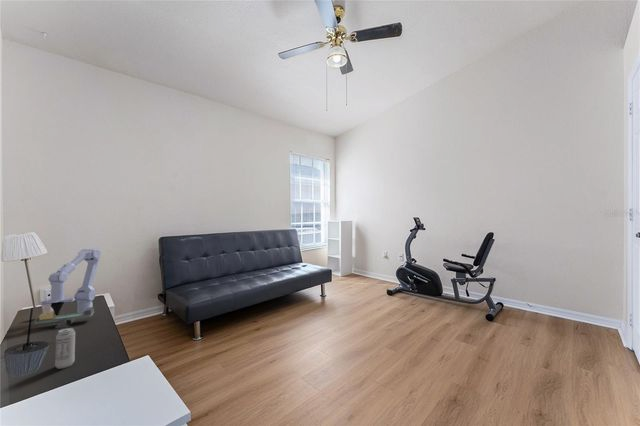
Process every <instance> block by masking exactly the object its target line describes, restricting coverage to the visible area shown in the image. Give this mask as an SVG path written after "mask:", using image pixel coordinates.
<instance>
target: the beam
mask: <svg viewBox="0 0 640 426" xmlns="http://www.w3.org/2000/svg"><path fill="white" fill-rule="evenodd" d="M94 308H95V306H92V307H89V308H87V309H86V310H85V311H84V312H82V313H75V312H74V313H66V314H67V315H66V314H61V315H60V314H59V315H58V316H56V318H55V319H50V320H43V321H39V317H37V318H36V319H34V323H33V324H34V326H36V325H43V324H50V323H56V322H57V323H58V322H60V319H65V320H72V319H75V320H79V319H85V318H90V317H92V316H93V315H94V314H95V310H94Z"/></svg>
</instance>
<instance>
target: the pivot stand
mask: <svg viewBox="0 0 640 426" xmlns="http://www.w3.org/2000/svg"><path fill="white" fill-rule="evenodd" d="M67 314H68V313H66V314H65V315H67ZM75 322H76V319H72V320H65V319H60V321H59V323H58V324H56V326H55V327H54V329H55V330H56V329H57V330H58V329H65V328H70V326H71V325H72V324H73V323H75Z"/></svg>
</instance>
